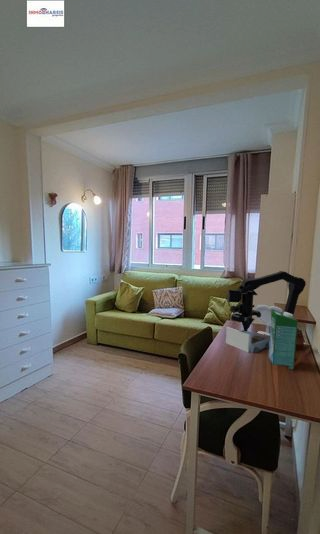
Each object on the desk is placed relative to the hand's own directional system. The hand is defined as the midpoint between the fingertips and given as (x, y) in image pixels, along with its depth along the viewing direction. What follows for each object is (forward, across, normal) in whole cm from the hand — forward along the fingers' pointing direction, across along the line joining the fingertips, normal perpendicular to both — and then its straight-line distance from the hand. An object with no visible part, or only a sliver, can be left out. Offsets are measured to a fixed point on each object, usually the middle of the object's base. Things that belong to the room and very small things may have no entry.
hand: (245, 331), depth 134 cm
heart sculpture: (+9, -30, -5) cm, 32 cm away
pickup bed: (+9, -2, 0) cm, 9 cm away
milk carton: (+9, +2, +21) cm, 23 cm away
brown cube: (+8, -4, +4) cm, 10 cm away
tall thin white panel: (+8, +7, 0) cm, 10 cm away
